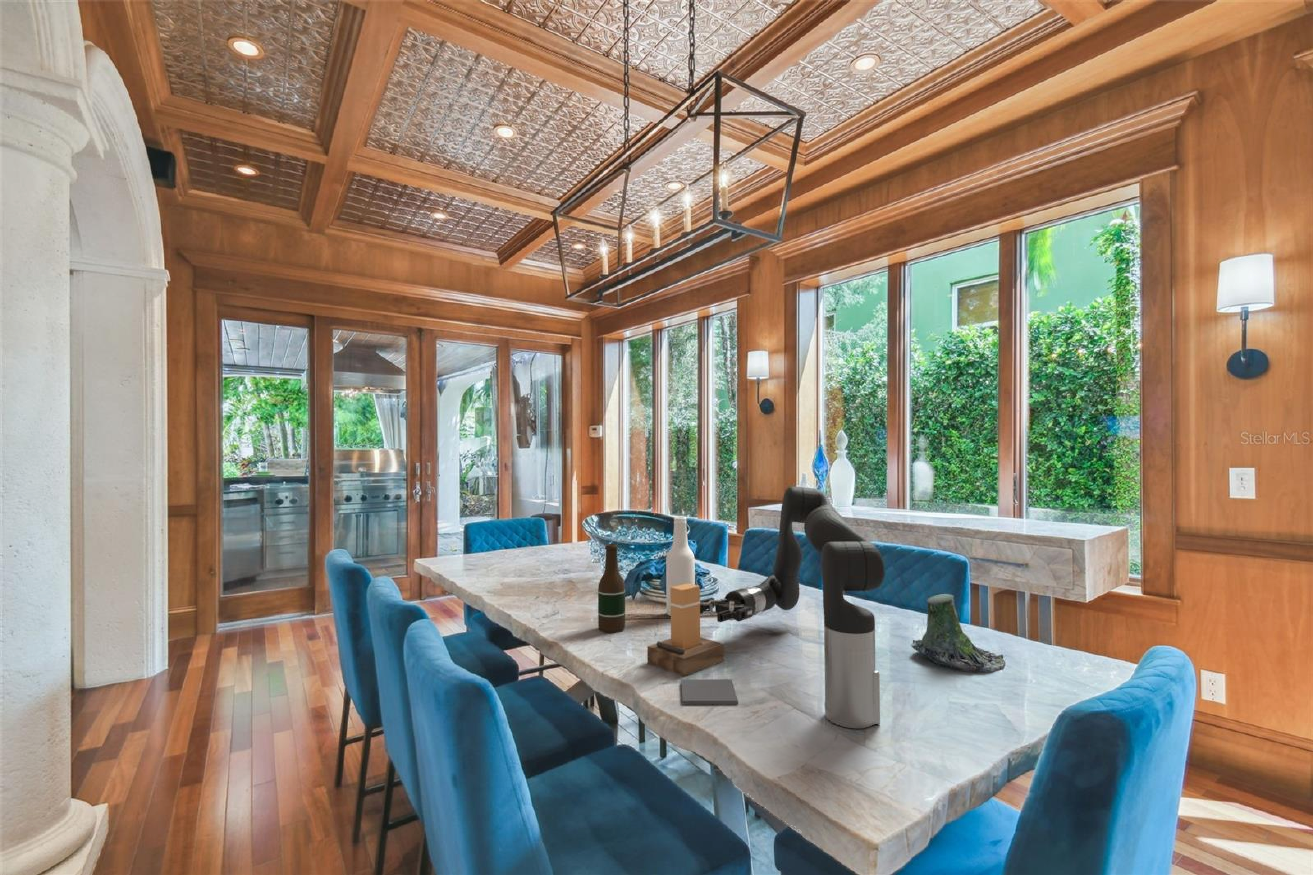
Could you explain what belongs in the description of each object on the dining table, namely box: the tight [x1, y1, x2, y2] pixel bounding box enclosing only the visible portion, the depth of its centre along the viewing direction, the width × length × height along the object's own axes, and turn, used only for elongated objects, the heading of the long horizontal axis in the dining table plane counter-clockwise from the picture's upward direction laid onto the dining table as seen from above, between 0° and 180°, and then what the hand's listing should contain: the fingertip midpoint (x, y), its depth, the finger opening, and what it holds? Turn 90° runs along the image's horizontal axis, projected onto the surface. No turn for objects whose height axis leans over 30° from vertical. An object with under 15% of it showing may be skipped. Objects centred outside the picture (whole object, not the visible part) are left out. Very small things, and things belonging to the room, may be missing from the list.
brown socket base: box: [646, 636, 725, 677], centre depth 143 cm, size 12×14×5 cm
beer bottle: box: [597, 543, 626, 634], centre depth 170 cm, size 8×8×24 cm
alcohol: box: [665, 516, 696, 616], centre depth 184 cm, size 9×9×30 cm
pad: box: [680, 678, 739, 706], centre depth 125 cm, size 11×11×1 cm
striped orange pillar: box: [670, 583, 701, 650], centre depth 143 cm, size 4×6×18 cm
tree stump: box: [910, 593, 1006, 673], centre depth 144 cm, size 18×20×18 cm
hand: (705, 614), depth 148 cm, fingers open, 8 cm apart
